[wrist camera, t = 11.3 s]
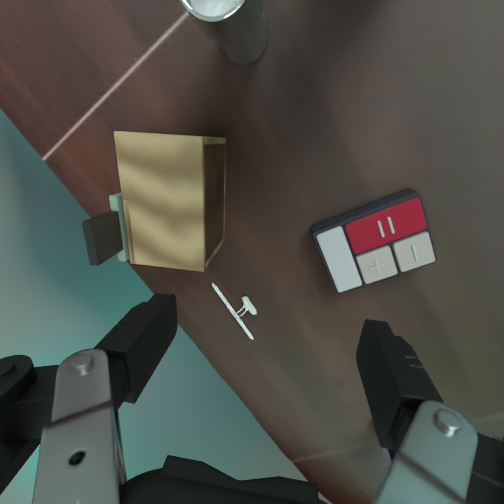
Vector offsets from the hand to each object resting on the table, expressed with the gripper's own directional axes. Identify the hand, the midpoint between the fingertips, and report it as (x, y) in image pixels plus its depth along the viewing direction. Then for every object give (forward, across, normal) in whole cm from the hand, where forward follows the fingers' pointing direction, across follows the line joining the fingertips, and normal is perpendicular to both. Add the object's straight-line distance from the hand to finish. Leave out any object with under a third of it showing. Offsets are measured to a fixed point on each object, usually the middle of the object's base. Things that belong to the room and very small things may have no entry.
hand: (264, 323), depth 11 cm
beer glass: (+32, +7, -19) cm, 38 cm away
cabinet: (+32, +14, +1) cm, 35 cm away
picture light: (+32, +6, +22) cm, 39 cm away
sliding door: (+31, +20, +4) cm, 37 cm away
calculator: (+32, -14, +6) cm, 36 cm away
